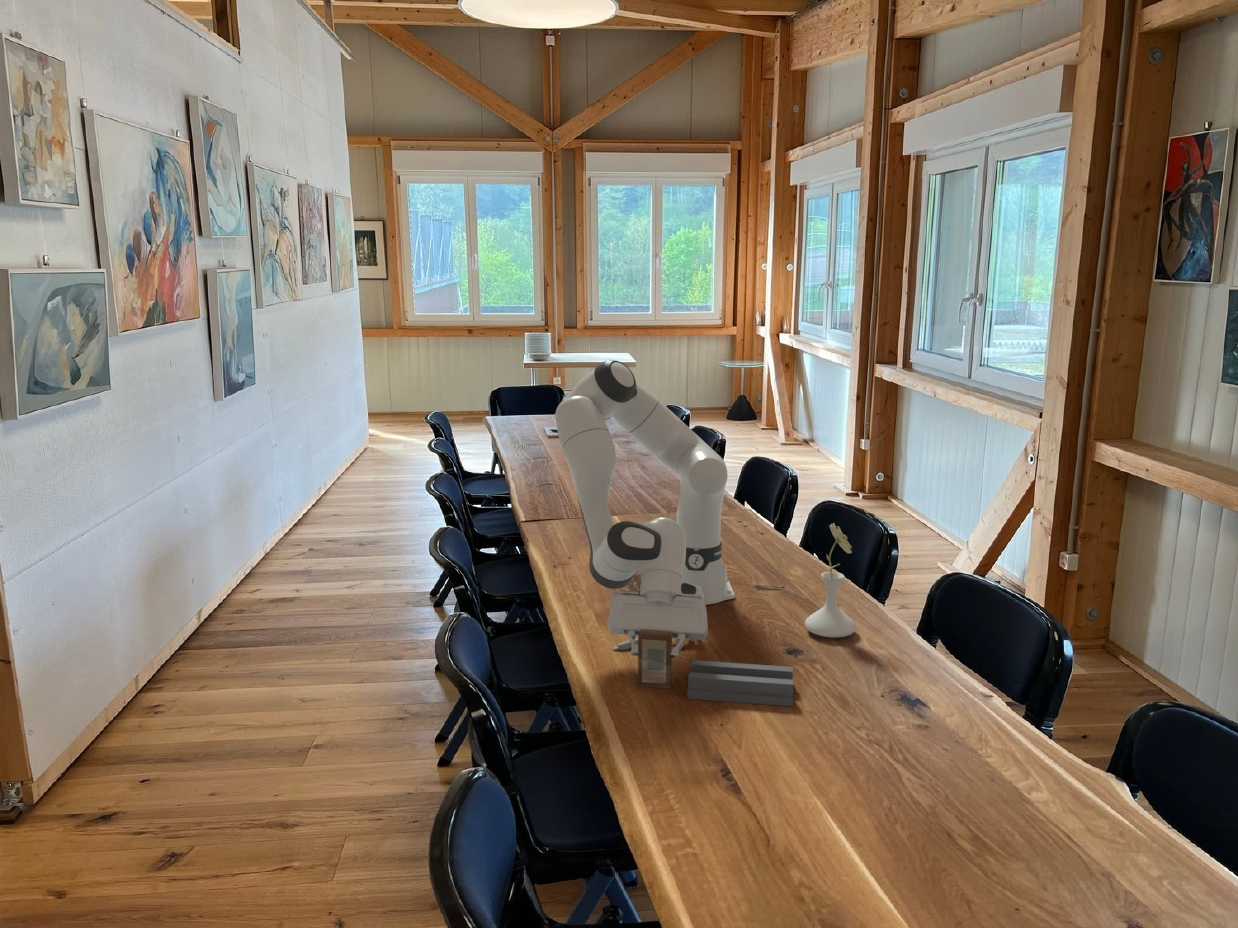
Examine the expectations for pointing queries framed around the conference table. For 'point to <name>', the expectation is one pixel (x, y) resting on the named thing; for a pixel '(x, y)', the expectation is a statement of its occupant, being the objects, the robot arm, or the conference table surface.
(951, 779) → the conference table surface
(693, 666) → the picture ledge
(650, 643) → the wooden picture frame
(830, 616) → the flower in vase
